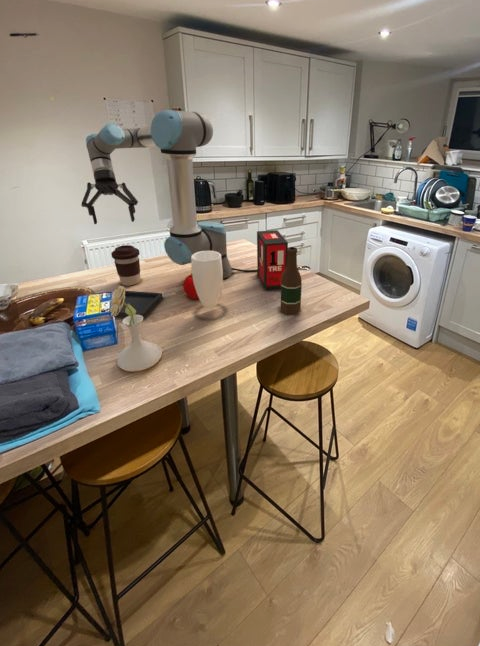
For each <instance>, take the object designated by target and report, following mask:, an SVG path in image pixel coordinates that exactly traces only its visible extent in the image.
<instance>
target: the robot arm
mask: <svg viewBox="0 0 480 646" xmlns="http://www.w3.org/2000/svg"><path fill="white" fill-rule="evenodd" d="M213 127H214V126H213V124H212V122H211V120H210V119H209V118H208V117H207V116H206V115H205V114H204V113H201V112H198V111H186V110H175V109H167V110H166V109H165V110H160V111H158V112H157V113H155V114H154V117H153V118H152V119H151V122H150V126H143V127H137V128H121V127H120V126H119V125H117V124H115V123H107V124H105V125H104V126H103V127H102V128H101V129H100V130H99V132H98V133H92V134H90V135H87V136H86V138H85V144H86V149H87V154H88V157H89V160H90V161H89V162H90V165H91V169H92V173H93V179H94V183H91V182H87V184H86V191H85V193H84V196H83V198H82V201H81V204H80V205H81V207H82V208H86V209H87V212H88V216H92V220H93V224H94V225H97V223H98V220H97V214H96V211H95V207H94V206H95V205H94V204H95V203H96V202H97V200H98V199H99V198H100V197H101V196H102V195H103V196H116V197H118V198H119V199H120V200H122V201H123V202H124V203H125V204H126V205H128V206H127V207H128V212H129V217H130V220H131V222H132V223H133V222H135V220H136V218H135V213H136V208H135V206H137V205H138V203H139V200H138V199H137V198H136V197H135V196H134V195H133V193H132V192H131V191H130V189H129V188H128V187H127V184H126V183H125V182H122V183H118V182H117V180H116V175H115V172H114V167H113V162H112V158H111V154H112V153H113V152H114V151H115V150H117V149H119V150H120V149H139V148H141V149H145V148H151V147H157V148H159V149H160V154H161V155H162V156H163V157H164V158H165V159H166V168H167V169H166V170H167V178H168V188H169V198H170V207H171V216H172V225H171V227H170V228H169V236H168V237H167V238H165V240H164V243H163V247H164V250H165V253H166V255H167V257H168V258H169V259H170V260H171V261H172V262H173V263H175V264H177V265H179V266H185V265H187V264H188V265H189V264H191V256H192V255H193V254H194V253H197V252H200V251H215V252H218V253H220V254H221V259H222V269H223V280H225V279H228V278H230V277H231V275H232V274H233V271H236V272H237V271H238V272H243V273H254V272H257V269H240V268H236V267H235V268H234V267H232V265H231V263H230V260H229V258H228V252H227V251H228V248H227V232H226V226H225V225H224V224H223V223H221V222H216V221H198V220H197V219H198V218H197V207H196V193H195V178H194V165H193V164H194V163H193V159H194V157H196V155H197V148H200V147H204V146H206V145H207V144H209V143H210V142H211V140H212V138H213V136H214V128H213ZM94 188H95V189H96V190H97V191H96V192H95V194H94V195H93V196H92V198H91V199H90V200H89V197H90V194H91V191H92V190H94ZM119 189H120V190H119ZM121 190H122V191H123V193H122V192H121ZM88 200H89V201H88ZM300 267H302V268H300ZM305 268H306V269H308V270H311V267H310V266H309V265H303V266H297V270H300V269H305Z"/></svg>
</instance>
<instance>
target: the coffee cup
mask: <svg viewBox="0 0 480 646" xmlns="http://www.w3.org/2000/svg"><path fill="white" fill-rule="evenodd" d="M110 254H111V258H112V259H113V260H114V266H115V269H116V272H117V273H116V274H117V276H118V278H119V281H120V284H121V285H122V286H126V287H127V286H128V287H129V286H134V285H137V284H140V282H141V264H140V258H139V255H140V254H141V253H140V250H139V249H138V248H137V247H135V246H134V245H130V244H125V245H124V244H123V245H119V246H117V247H115V248H114V250H112V251H111V253H110Z"/></svg>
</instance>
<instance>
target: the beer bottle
mask: <svg viewBox="0 0 480 646" xmlns="http://www.w3.org/2000/svg"><path fill="white" fill-rule="evenodd" d="M287 252H288V255H287V266H286V269H285V271H284V272H283V274H282V276H281V289H280V312H281V313H283V314H285V315H286V316H287V315H288V316H289V315H292V316H293V315H296V314H298V313H300V312H301V306H302V304H301V303H302V276H301V273H300V271H299V269H297V267H298V256H297V254H298V248H297V247H294V246H290V247H289V246H288V249H287Z"/></svg>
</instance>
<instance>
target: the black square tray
mask: <svg viewBox="0 0 480 646" xmlns="http://www.w3.org/2000/svg"><path fill="white" fill-rule="evenodd" d="M163 299H164V295H163V292H153V291H151V292H150V291H137V290H136V291H135V290H125V299H124V302H125V303H126V304H128V303H129V304H130V305H131V306H132V307H133V308H134V309H135V310H136V314H135V315H141V316H143V320H144V321H145V319H146V318H147V317H148V316H149V315H150V314H151V313H152V312H153V310H154V309H155V308H156V307H157V306H158V305H159V304H160V303H161V301H163ZM125 309H126V306H125V305H124V304H123V307H122V308H121V310H120V312H119V313H118V315H116V316H115V318H114V319H124V318H126V317H128V316H129V315H128V314H126V312H125ZM143 320H142V321H143Z"/></svg>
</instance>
